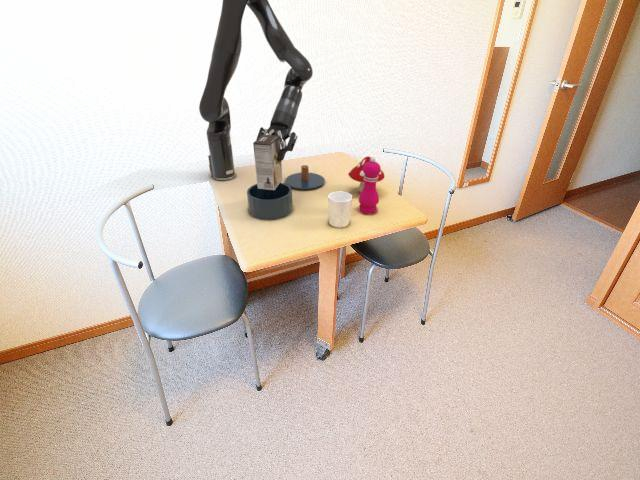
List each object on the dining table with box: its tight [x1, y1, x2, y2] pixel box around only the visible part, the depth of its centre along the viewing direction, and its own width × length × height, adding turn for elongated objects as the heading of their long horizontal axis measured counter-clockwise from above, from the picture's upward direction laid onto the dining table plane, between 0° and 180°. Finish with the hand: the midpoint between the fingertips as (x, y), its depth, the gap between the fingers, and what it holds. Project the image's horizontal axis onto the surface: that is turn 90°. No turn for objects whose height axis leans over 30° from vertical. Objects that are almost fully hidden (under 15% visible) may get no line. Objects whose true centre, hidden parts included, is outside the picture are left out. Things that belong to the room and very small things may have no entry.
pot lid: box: [284, 164, 326, 190], centre depth 148 cm, size 17×17×7 cm
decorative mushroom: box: [347, 156, 385, 193], centre depth 138 cm, size 14×14×15 cm
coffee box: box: [252, 134, 283, 190], centre depth 119 cm, size 9×6×16 cm
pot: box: [246, 182, 293, 221], centre depth 127 cm, size 16×16×8 cm
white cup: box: [327, 190, 353, 228], centre depth 119 cm, size 8×8×10 cm
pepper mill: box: [358, 156, 382, 215], centre depth 124 cm, size 7×7×20 cm
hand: (269, 158), depth 120 cm, fingers closed on coffee box, 7 cm apart
